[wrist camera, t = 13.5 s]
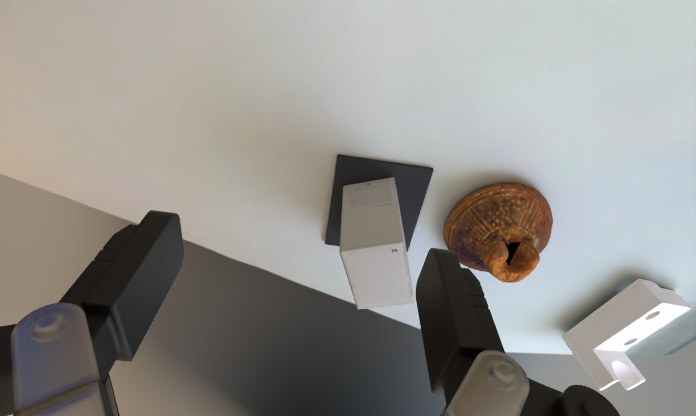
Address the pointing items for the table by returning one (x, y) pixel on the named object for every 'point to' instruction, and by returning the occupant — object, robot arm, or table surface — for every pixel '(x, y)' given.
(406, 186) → the coaster
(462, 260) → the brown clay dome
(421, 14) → the table surface
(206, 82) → the table surface
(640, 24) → the table surface
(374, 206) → the small box
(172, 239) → the robot arm
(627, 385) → the bracket
